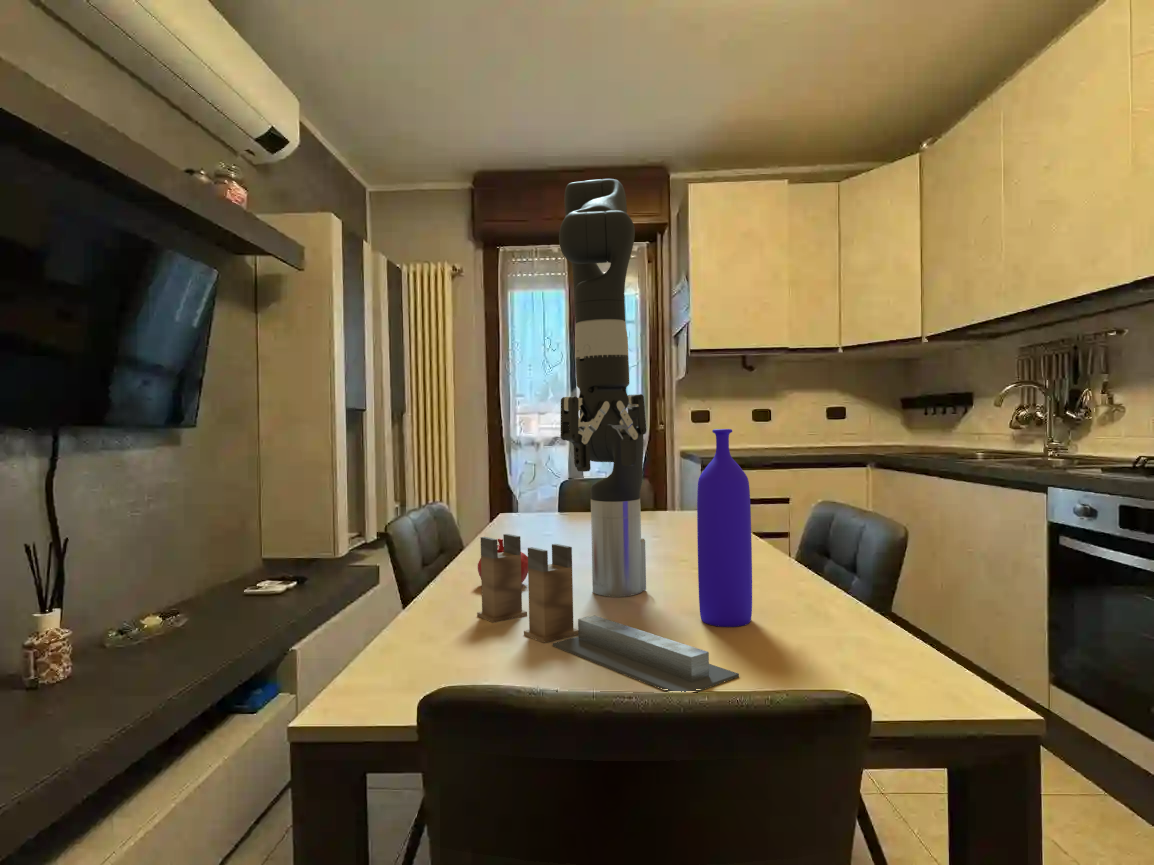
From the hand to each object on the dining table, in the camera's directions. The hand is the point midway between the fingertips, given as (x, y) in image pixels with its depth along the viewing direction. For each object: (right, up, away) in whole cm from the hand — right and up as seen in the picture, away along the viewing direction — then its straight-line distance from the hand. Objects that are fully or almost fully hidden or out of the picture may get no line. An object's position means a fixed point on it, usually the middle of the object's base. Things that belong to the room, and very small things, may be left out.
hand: (606, 468), depth 101 cm
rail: (+4, -24, -8) cm, 26 cm away
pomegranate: (-19, -25, +38) cm, 49 cm away
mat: (+4, -25, -8) cm, 26 cm away
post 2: (-8, -25, +4) cm, 26 cm away
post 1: (-16, -25, +15) cm, 34 cm away
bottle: (+19, -25, +10) cm, 33 cm away
